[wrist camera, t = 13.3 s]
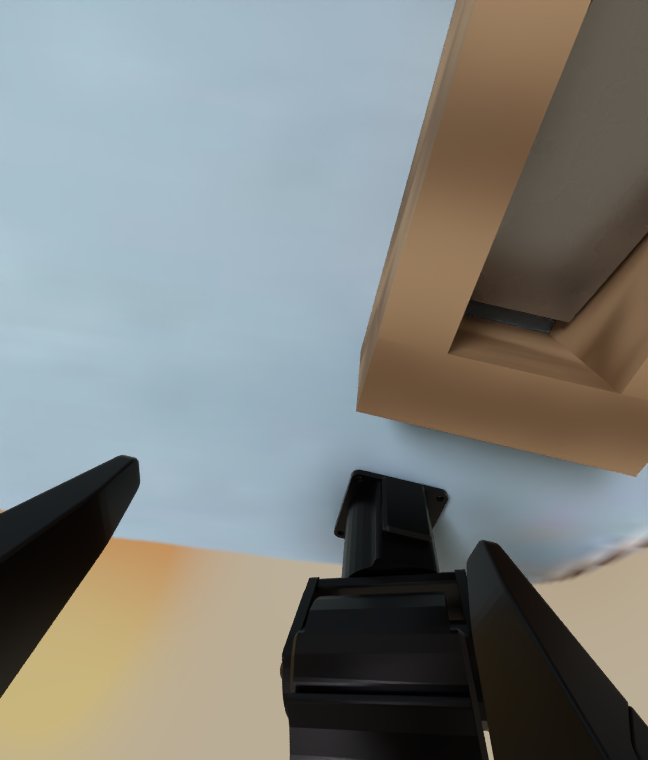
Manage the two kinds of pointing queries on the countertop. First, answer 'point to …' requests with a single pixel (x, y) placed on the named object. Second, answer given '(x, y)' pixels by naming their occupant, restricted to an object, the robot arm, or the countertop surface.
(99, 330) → the countertop surface
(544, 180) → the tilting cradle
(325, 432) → the countertop surface
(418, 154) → the walnut frame
